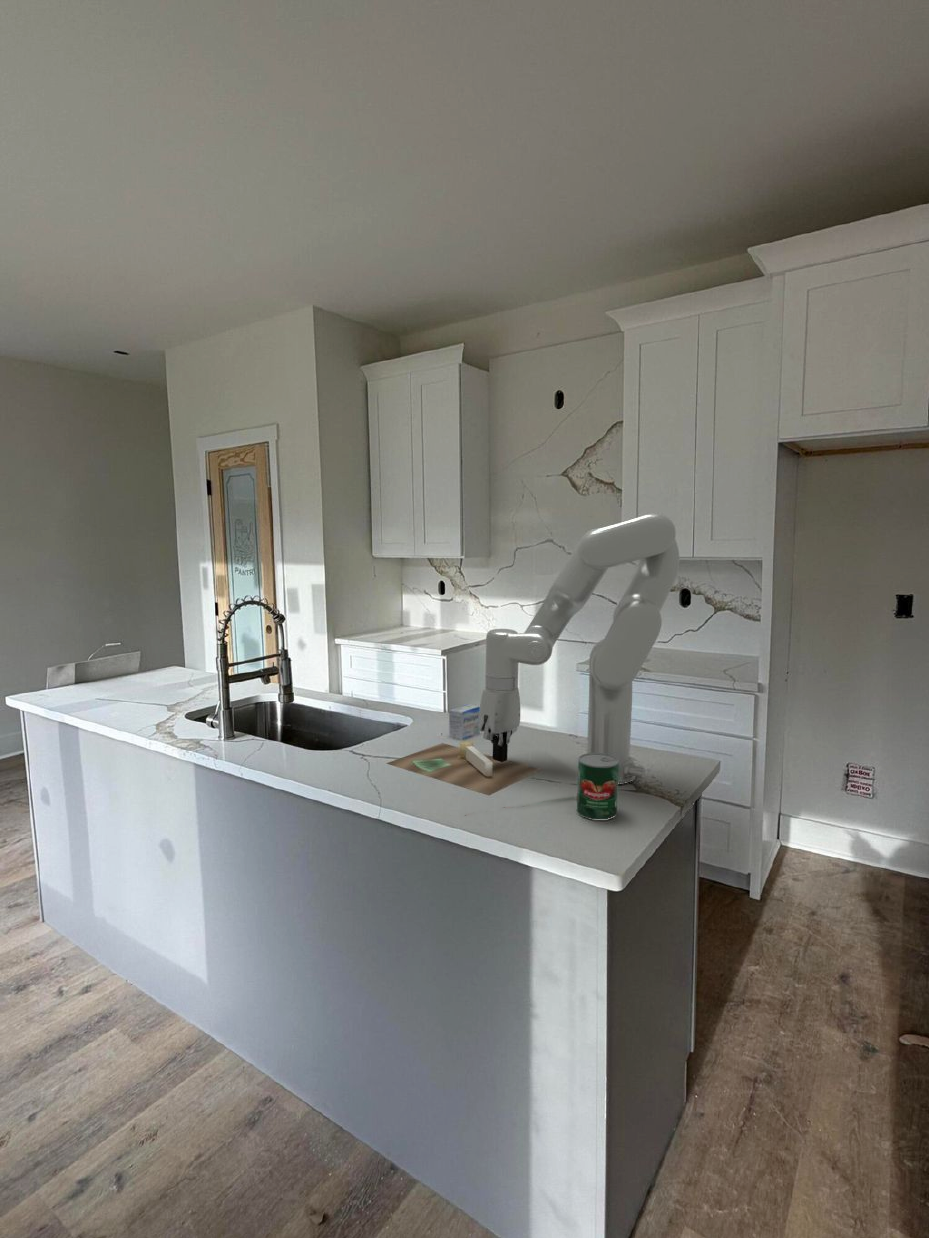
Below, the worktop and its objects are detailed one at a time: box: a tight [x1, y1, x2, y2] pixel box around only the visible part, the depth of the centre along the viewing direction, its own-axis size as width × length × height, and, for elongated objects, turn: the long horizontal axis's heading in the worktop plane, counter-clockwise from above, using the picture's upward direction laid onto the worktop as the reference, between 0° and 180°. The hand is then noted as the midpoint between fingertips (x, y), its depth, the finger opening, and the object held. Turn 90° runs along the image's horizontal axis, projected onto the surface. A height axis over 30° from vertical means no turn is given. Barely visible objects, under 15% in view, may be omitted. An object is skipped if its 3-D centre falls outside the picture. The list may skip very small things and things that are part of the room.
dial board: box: [386, 742, 542, 796], centre depth 159 cm, size 30×20×1 cm, turn 51°
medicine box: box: [448, 704, 481, 741], centre depth 183 cm, size 8×4×9 cm, turn 143°
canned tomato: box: [576, 753, 619, 819], centre depth 136 cm, size 8×8×11 cm
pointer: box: [459, 740, 492, 777], centre depth 159 cm, size 16×3×3 cm, turn 21°
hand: (499, 759), depth 160 cm, fingers closed
